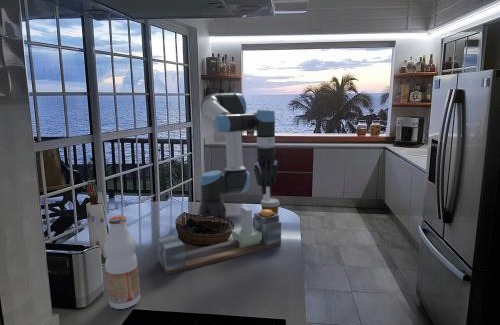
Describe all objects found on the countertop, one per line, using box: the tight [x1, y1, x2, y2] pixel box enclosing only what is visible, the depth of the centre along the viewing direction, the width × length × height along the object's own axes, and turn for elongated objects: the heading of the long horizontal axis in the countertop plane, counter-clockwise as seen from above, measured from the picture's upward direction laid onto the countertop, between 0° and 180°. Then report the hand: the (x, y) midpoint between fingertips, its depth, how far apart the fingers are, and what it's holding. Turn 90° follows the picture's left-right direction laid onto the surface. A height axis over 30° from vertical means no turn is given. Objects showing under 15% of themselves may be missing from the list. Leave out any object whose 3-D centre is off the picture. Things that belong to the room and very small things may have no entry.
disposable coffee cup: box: [260, 197, 281, 215], centre depth 180 cm, size 10×10×12 cm
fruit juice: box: [103, 215, 141, 310], centre depth 112 cm, size 9×9×28 cm
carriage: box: [231, 205, 262, 248], centre depth 153 cm, size 10×9×15 cm
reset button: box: [260, 209, 272, 218], centre depth 157 cm, size 5×5×2 cm
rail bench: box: [156, 211, 282, 275], centre depth 148 cm, size 12×50×12 cm, turn 120°
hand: (266, 200), depth 156 cm, fingers closed
